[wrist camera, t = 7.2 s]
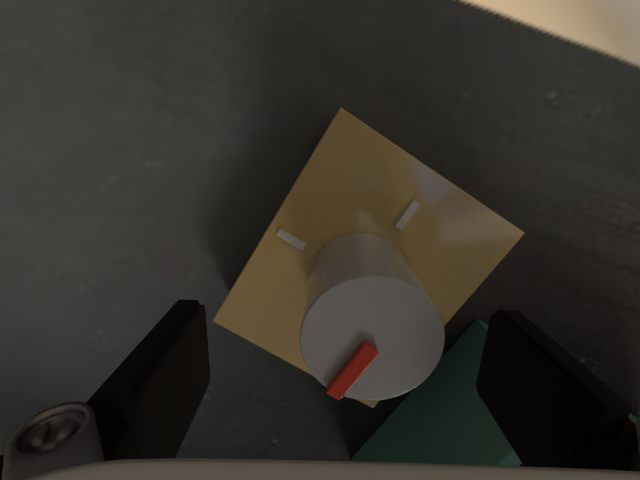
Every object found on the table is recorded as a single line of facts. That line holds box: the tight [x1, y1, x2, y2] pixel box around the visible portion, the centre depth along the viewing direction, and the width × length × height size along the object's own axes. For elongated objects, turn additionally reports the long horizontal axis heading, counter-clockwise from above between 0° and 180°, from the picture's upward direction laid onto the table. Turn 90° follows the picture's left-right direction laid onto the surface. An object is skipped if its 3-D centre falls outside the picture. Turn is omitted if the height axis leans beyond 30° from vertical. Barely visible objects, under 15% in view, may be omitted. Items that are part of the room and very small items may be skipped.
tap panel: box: [213, 108, 524, 408], centre depth 17 cm, size 10×12×3 cm
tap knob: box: [299, 233, 445, 401], centre depth 13 cm, size 5×5×5 cm
